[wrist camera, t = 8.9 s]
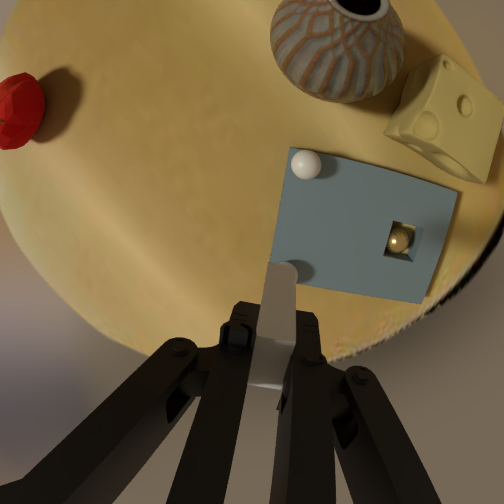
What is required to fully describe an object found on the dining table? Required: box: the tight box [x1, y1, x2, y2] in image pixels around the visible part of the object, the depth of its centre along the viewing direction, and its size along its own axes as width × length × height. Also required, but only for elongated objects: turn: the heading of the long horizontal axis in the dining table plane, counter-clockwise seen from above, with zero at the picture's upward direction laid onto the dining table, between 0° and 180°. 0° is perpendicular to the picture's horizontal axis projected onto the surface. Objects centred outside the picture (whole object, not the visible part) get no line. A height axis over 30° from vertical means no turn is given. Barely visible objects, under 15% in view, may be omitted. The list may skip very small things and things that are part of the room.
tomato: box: [0, 72, 45, 150], centre depth 29 cm, size 13×12×11 cm
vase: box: [270, 0, 406, 103], centre depth 20 cm, size 13×13×18 cm
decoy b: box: [278, 262, 298, 283], centre depth 34 cm, size 3×3×3 cm
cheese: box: [384, 54, 504, 183], centre depth 24 cm, size 10×11×10 cm
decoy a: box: [291, 150, 321, 180], centre depth 30 cm, size 3×3×3 cm
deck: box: [270, 147, 458, 304], centre depth 34 cm, size 16×22×2 cm
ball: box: [386, 228, 409, 253], centre depth 33 cm, size 3×3×3 cm
